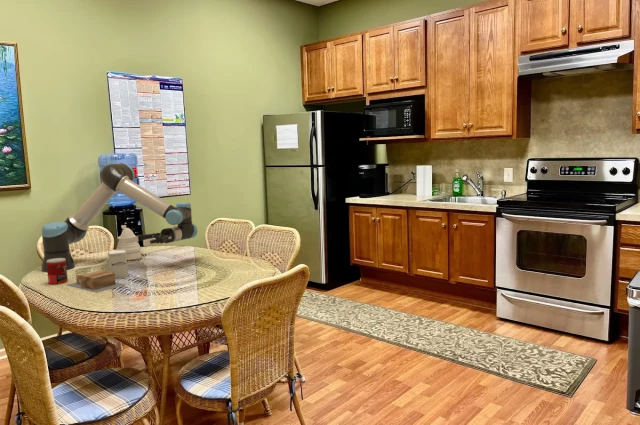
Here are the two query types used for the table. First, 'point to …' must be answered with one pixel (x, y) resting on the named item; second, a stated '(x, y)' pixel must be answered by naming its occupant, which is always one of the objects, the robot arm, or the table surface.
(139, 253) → the honey pot
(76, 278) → the maple cube
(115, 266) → the supplement box
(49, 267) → the canned food
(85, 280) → the walnut block
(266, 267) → the table surface
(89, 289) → the slate mat
